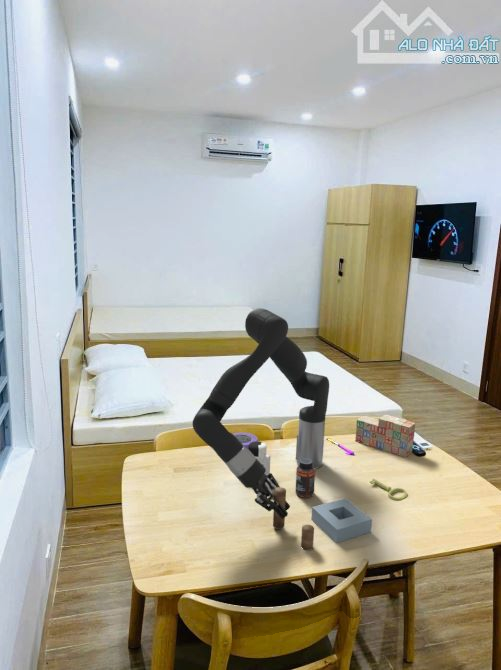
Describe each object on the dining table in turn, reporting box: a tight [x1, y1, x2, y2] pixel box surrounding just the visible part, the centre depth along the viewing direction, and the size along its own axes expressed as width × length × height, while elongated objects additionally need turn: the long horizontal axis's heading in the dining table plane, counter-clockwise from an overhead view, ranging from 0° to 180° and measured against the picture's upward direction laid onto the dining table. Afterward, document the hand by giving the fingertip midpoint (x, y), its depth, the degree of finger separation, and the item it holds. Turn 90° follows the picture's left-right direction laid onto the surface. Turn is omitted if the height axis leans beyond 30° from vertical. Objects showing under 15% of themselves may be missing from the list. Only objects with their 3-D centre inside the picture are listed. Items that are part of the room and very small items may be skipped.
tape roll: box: [232, 432, 258, 450], centre depth 187 cm, size 12×12×5 cm
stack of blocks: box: [354, 414, 416, 458], centre depth 193 cm, size 21×6×12 cm, turn 51°
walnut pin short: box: [300, 524, 315, 551], centre depth 131 cm, size 3×3×6 cm
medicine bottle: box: [249, 440, 271, 475], centre depth 167 cm, size 7×7×12 cm
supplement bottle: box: [295, 458, 316, 498], centre depth 157 cm, size 6×6×11 cm
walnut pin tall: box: [272, 486, 287, 530], centre depth 138 cm, size 3×3×11 cm
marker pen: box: [326, 437, 355, 456], centre depth 193 cm, size 3×1×16 cm
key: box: [369, 478, 408, 501], centre depth 160 cm, size 7×12×2 cm, turn 58°
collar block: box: [311, 497, 373, 544], centre depth 141 cm, size 12×12×4 cm
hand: (286, 512), depth 138 cm, fingers closed on walnut pin tall, 3 cm apart
